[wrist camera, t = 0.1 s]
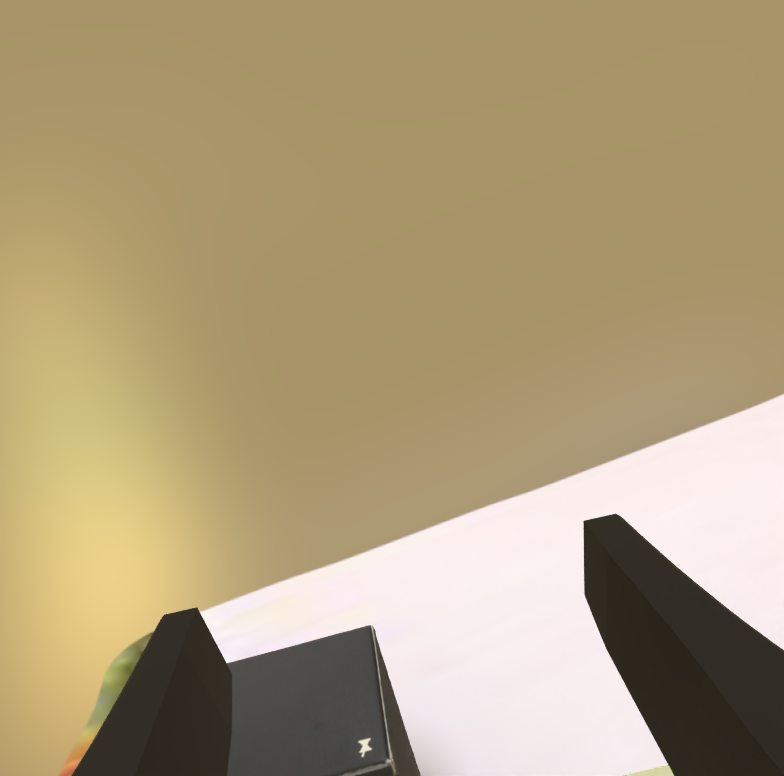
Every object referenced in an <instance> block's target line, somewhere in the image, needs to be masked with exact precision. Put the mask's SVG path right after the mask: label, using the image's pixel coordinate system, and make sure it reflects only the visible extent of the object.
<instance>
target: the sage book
mask: <svg viewBox="0 0 784 776" xmlns="http://www.w3.org/2000/svg"><path fill="white" fill-rule="evenodd" d="M625 776H674V775H673V773H672V771H671V769H670V767H669V765H667V766H662V767H658V768H654V769H650V770H646V771H642V772H637V773H633V774H629V775H625Z"/></svg>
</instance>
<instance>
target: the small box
mask: <svg viewBox="0 0 784 776" xmlns="http://www.w3.org/2000/svg"><path fill="white" fill-rule="evenodd" d="M227 665H228V667H229V669H230V671H231V673H232V735H231V745H230V754H229V762H228V771H227V776H420V772H419V769H418V767H417V764H416V761H415V758H414V754H413V751H412V748H411V745H410V742H409V739H408V736H407V732H406V730H405V726H404V723H403V720H402V717H401V714H400V710H399V707H398V704H397V701H396V698H395V695H394V692H393V689H392V686H391V682H390V679H389V676H388V672H387V669H386V666H385V663H384V660H383V657H382V654H381V651H380V648H379V644H378V641H377V638H376V633H375V629H374V628H373V626H371V625H368V626H365V627H362V628H358V629H354V630H351V631H347V632H343V633H339V634H335V635H331V636H328V637H324V638H321V639H317V640H313V641H310V642H306V643H302V644H299V645H295V646H291V647H287V648H284V649H280V650H276V651H272V652H269V653H265V654H261V655H257V656H253V657H250V658H246V659H242V660H238V661H235V662H231V663H227Z"/></svg>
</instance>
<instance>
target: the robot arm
mask: <svg viewBox="0 0 784 776" xmlns="http://www.w3.org/2000/svg"><path fill="white" fill-rule="evenodd" d="M584 588H585V597H586V599H587V602H588V604H589V607H590V610H591V612H592V615H593V617H594V620H595V622H596V625H597V627H598V630H599V632H600V634H601V637H602V639H603V642H604V644H605V647H606V649H607V651H608V653H609V654H610V656H611V658H612V660H613V662H614V664H615V666H616V668H617V670H618V672H619V673H620V675H621V677H622V679H623V681H624V683H625V685H626V687H627V689H628V690H629V692H630V694H631V696H632V698H633V700H634V702H635V703H636V705H637V707H638V709H639V711H640V713H641V715H642V716H643V718H644V720H645V722H646V724H647V726H648V728H649V729H650V731H651V733H652V735H653V737H654V739H655V741H656V742H657V744H658V746H659V748H660V750H661V752H662V754H663V756H664V757H665V759H666V761H667V763H668V765H669V767H670V769H671V771H672V773H673V775H674V776H784V650H783V649H781V648H780V647H778V646H777V645H775V644H774V643H773V642H771V641H770V640H769V639H767V638H766V637H765V636H763V635H762V634H761V633H759V632H758V631H756V630H755V629H754V628H752V627H751V626H750V625H748V624H747V623H746V622H744V621H743V620H742V619H740V618H739V617H738V616H737V615H735V614H734V613H733V612H731V611H730V610H729V609H728V608H726V607H725V606H724V605H723V604H721V603H720V602H719V601H718V600H716V599H715V598H714V597H713V596H711V595H710V594H709V593H708V592H706V591H705V590H704V589H703V588H702V587H700V586H699V585H698V584H697V583H695V582H694V581H693V580H692V579H691V578H689V577H688V576H687V575H686V574H685V573H683V572H682V571H681V570H680V569H679V568H678V567H676V566H675V565H674V564H673V563H672V562H671V561H670V560H668V559H667V558H666V557H665V556H664V555H663V554H661V553H660V552H659V551H658V550H657V549H656V548H655V547H654V546H652V545H651V544H650V543H649V542H648V541H647V540H646V539H645V538H644V537H643V536H641V535H640V534H639V533H638V532H637V531H636V530H635V529H634V528H633V527H632V526H631V525H629V524H628V523H627V522H626V521H625V520H624V519H623V518H622V517H621V516H619V515H617V514H613V515H608V516H604V517H599V518H595V519H590V520H586V521H584ZM231 735H232V673H231V671H230V669H229V667H228V665H227V663H226V662H225V660H224V658H223V656H222V654H221V652H220V650H219V648H218V646H217V644H216V643H215V641H214V639H213V637H212V635H211V633H210V631H209V629H208V627H207V625H206V623H205V622H204V620H203V618H202V616H201V614H200V612H199V610H198V608H192V609H188V610H183V611H179V612H175V613H170V614H166V615H164V616H163V617H162V619H161V620H160V622H159V624H158V625H157V627H156V629H155V631H154V633H153V635H152V636H151V638H150V640H149V642H148V644H147V646H146V648H145V650H144V651H143V653H142V655H141V657H140V659H139V661H138V663H137V664H136V666H135V668H134V670H133V672H132V674H131V675H130V677H129V679H128V681H127V683H126V684H125V686H124V688H123V690H122V692H121V693H120V695H119V697H118V699H117V700H116V702H115V704H114V706H113V707H112V709H111V711H110V713H109V714H108V716H107V718H106V720H105V721H104V723H103V725H102V726H101V728H100V730H99V732H98V733H97V735H96V737H95V739H94V740H93V742H92V744H91V745H90V747H89V749H88V750H87V752H86V754H85V755H84V757H83V758H82V760H81V761H80V763H79V765H78V766H77V768H76V769H75V771H74V773H73V774H72V776H227V771H228V762H229V754H230V745H231Z"/></svg>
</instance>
